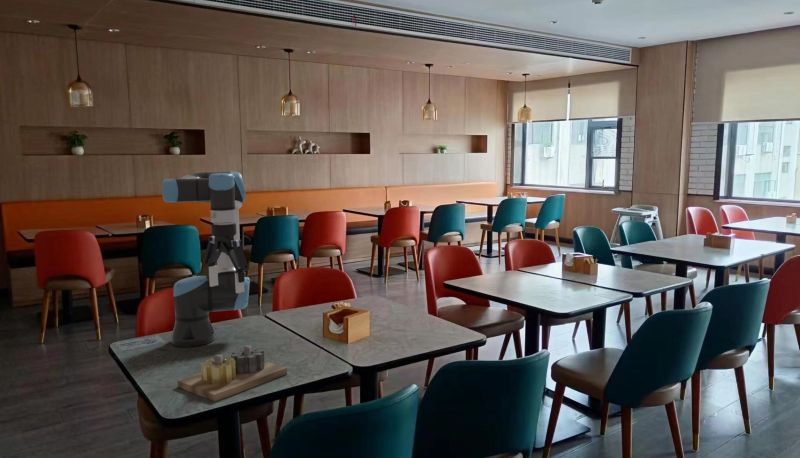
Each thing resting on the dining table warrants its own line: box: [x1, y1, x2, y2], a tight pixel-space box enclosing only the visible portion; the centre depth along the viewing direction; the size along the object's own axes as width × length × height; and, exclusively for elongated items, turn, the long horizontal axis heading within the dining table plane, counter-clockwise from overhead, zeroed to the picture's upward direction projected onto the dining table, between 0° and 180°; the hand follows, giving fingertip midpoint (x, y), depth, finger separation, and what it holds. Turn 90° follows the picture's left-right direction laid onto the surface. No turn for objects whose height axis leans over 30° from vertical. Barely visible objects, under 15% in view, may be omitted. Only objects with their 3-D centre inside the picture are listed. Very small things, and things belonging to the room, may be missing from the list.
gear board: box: [177, 344, 288, 403], centre depth 180 cm, size 18×26×9 cm
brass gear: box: [200, 356, 237, 385], centre depth 176 cm, size 10×10×5 cm
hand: (226, 289), depth 192 cm, fingers open, 13 cm apart
